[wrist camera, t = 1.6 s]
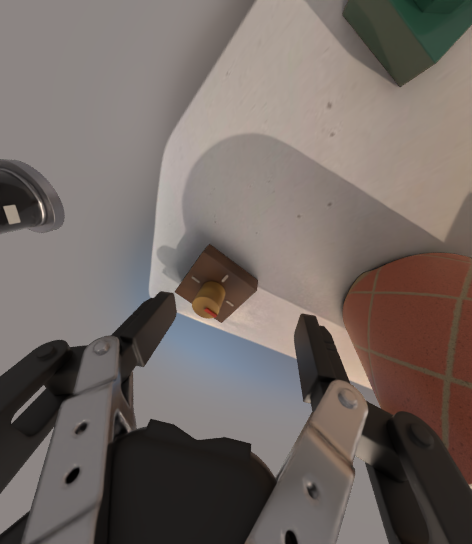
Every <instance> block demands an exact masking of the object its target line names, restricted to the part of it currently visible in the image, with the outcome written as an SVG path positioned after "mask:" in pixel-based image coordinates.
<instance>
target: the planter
mask: <svg viewBox="0 0 472 544" xmlns="http://www.w3.org/2000/svg"><path fill="white" fill-rule="evenodd" d="M342 313H343V321H344V324H345V327H346V330H347V332H348V334H349V336H350V339H351V341H352V343H353V345H354V348H355V350H356V352H357V354H358V357H359V359H360V361H361V363H362V366H363V368H364V370H365V372H366V375H367V377H368V379H369V382H370V384H371V386H372V389H373V391H374V393H375V395H376V398H377V400H378V402H379V405H380V407H381V409H382V410H384V411H386V412H388V413H390V414H392V415H395V414H396V413H397V412H399V411H405V412H409V413H411V414H413V415H415V416H417V417H419V418H420V419H422V420H423V421H424V422H425V423H427V424H428V425H429V426H430V427H431V428H432V429H433V430H434V431H435V432H436V433H437V435H438V436H439V437H440V439H441V440H442V442H443V443H444V445H445V447H446V448H447V450H448V452H449V453H450V455H451V457H452V458H453V460H454V462H455V463H456V465H457V466H458V468H459V470H460V471H461V473H462V475H463V476H464V478H465V480H466V481H467V483H468V485H469V486H470V488H471V489H472V258H470V257H466V256H462V255H457V254H451V253H426V254H419V255H413V256H409V257H405V258H402V259H399V260H396V261H393V262H391V263H388V264H386V265H384V266H382V267H379V268H377V269H375V270H372V271H368V272H365V273H363V274H361V275H360V276H359V277H358V278H357V280H356V281H355V282H354V283H353V285H352V287H351V288H350V290H349V292H348V294H347V296H346V299H345V302H344V305H343V312H342Z"/></svg>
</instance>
